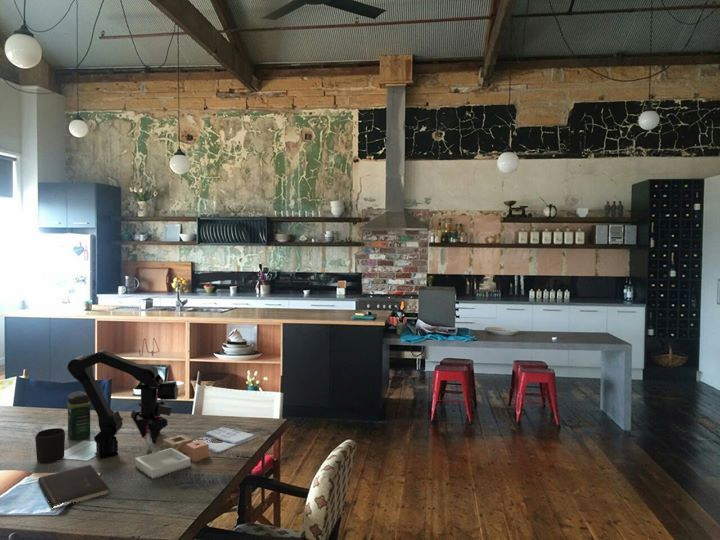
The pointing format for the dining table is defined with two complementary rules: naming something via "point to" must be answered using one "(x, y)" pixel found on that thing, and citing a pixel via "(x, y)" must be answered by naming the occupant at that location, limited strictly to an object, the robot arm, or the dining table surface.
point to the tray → (162, 462)
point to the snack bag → (226, 439)
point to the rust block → (197, 450)
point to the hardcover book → (72, 485)
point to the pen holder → (50, 445)
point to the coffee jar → (78, 416)
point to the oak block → (177, 443)
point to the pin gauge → (149, 444)
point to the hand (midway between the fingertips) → (149, 440)
